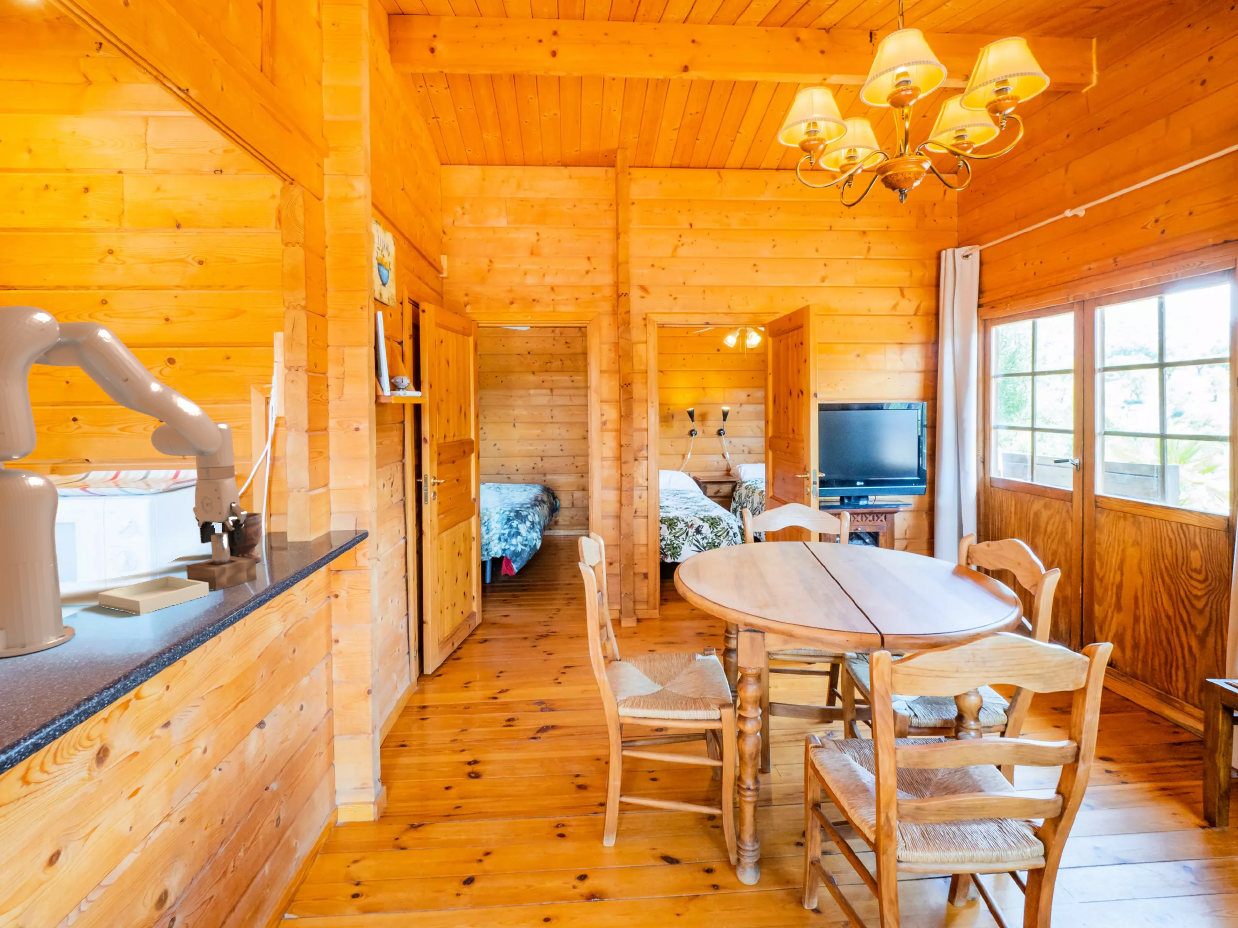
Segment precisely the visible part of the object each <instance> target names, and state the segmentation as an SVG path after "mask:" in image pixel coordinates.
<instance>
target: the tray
mask: <svg viewBox="0 0 1238 928" xmlns="http://www.w3.org/2000/svg"><path fill="white" fill-rule="evenodd" d="M207 595H209V596H210V590H209V585H208V582H202V581H196V580H189V579H187V578H182V577H176V576H171V575H168V576H167V575H166V576H163V577H159V578H154V579H151V580H146V581H143V582H139V583H135V584H129V585H126V586H122V587H118V588H114V589H109V590H105V591H102V592H101V591H100V592H98V593H97V599H98V607H99V606H104V607H108V608H114V609H118V610H123V611H126V612H131V613H135V614H134V615H136V614H139V615H138V616H143V615H146V614H145V613H147V614H149V613H148V612H150V613H153V612H152V611H154V612H156V611H155V610H157V611H159V610H158V609H161V608H164V609H166V608H165V607H168V606H171V607H173V606H172V605H175V606H177V605H176V604H178V605H181V604H180V603H182V604H184V603H183V602H185V603H187V602H186V601H188V602H190V601H189V600H192V601H194V600H193V599H195V600H197V599H196V598H199V599H201V598H200V597H202V598H205V597H204V596H206V597H208V596H207ZM168 608H169V607H168ZM161 610H162V609H161ZM126 612H125V613H126ZM131 613H130V614H131ZM142 614H143V615H142Z"/></svg>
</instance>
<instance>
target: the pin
mask: <svg viewBox="0 0 1238 928" xmlns="http://www.w3.org/2000/svg"><path fill="white" fill-rule="evenodd" d="M210 544H211V545H210V546H211V557H212V558H211V560H212V561H213V565H215V566H220V565H224V564H228V563H231V562H230V547H229V545H228V533H226V532H223V533H214V534H211V542H210Z"/></svg>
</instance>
